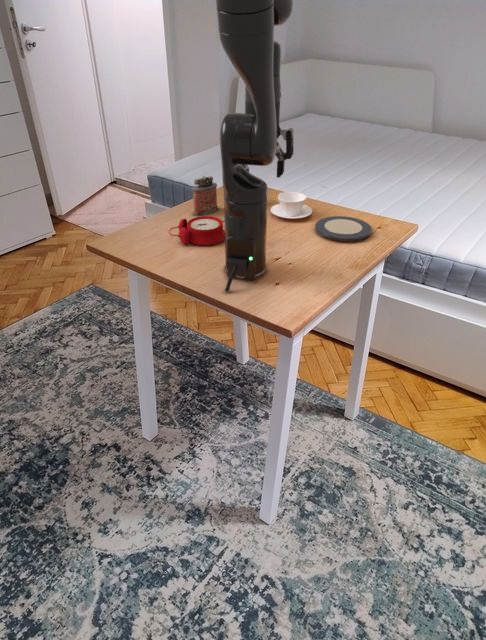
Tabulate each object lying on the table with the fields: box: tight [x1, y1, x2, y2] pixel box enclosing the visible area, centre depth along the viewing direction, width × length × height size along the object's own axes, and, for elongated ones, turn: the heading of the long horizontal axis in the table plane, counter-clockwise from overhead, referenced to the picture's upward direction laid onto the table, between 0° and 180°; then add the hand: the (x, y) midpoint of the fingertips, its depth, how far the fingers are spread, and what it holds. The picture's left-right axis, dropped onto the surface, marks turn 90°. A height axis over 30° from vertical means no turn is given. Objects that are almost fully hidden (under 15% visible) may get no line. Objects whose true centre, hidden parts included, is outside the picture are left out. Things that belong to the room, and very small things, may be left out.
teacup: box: [270, 191, 313, 220], centre depth 137 cm, size 12×12×5 cm
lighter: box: [191, 175, 219, 217], centre depth 138 cm, size 8×3×10 cm, turn 133°
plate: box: [314, 215, 373, 242], centre depth 130 cm, size 15×15×1 cm
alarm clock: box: [168, 215, 225, 246], centre depth 125 cm, size 10×6×15 cm
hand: (261, 175), depth 113 cm, fingers open, 8 cm apart
